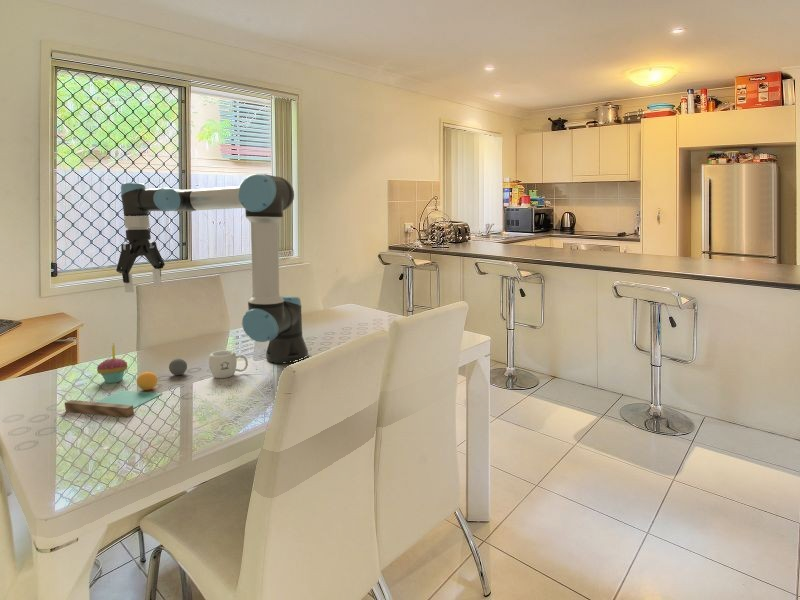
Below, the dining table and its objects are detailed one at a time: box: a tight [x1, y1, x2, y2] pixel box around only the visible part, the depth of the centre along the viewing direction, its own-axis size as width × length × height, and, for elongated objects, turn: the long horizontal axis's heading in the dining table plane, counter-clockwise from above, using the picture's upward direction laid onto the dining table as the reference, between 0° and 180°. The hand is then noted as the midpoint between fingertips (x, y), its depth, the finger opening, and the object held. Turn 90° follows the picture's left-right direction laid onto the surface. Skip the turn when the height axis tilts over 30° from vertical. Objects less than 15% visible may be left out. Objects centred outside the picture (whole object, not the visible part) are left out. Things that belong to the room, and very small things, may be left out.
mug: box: [208, 349, 249, 379], centre depth 158 cm, size 12×8×8 cm
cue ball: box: [168, 358, 188, 376], centre depth 160 cm, size 6×6×6 cm
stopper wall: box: [64, 399, 135, 418], centre depth 129 cm, size 20×2×2 cm, turn 77°
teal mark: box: [96, 389, 163, 410], centre depth 137 cm, size 14×14×1 cm
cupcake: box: [96, 342, 128, 384], centre depth 154 cm, size 9×8×12 cm
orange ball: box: [136, 371, 158, 391], centre depth 146 cm, size 6×6×6 cm
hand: (144, 289), depth 171 cm, fingers open, 13 cm apart
